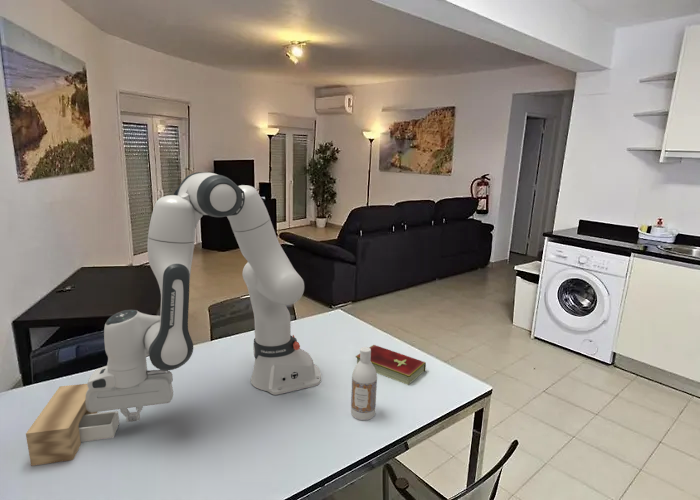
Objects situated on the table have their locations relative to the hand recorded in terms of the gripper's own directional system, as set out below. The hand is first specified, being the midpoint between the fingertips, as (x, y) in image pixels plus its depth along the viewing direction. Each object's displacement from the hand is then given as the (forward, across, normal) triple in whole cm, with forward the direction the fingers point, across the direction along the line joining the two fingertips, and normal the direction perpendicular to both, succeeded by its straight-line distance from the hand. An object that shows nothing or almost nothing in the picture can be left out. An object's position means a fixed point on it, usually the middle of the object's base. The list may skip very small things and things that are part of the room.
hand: (133, 420), depth 111 cm
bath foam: (+2, -61, +8) cm, 62 cm away
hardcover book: (+3, -78, -15) cm, 79 cm away
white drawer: (+2, +11, +1) cm, 11 cm away
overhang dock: (+2, +15, 0) cm, 15 cm away
